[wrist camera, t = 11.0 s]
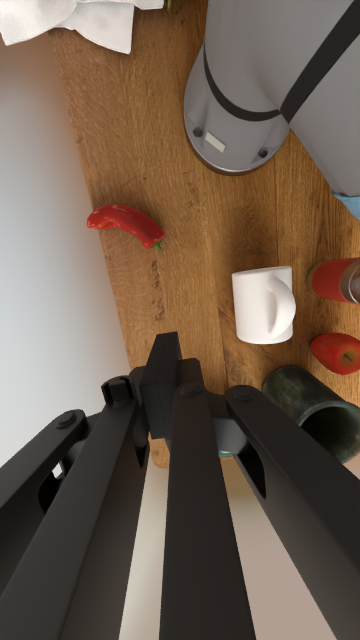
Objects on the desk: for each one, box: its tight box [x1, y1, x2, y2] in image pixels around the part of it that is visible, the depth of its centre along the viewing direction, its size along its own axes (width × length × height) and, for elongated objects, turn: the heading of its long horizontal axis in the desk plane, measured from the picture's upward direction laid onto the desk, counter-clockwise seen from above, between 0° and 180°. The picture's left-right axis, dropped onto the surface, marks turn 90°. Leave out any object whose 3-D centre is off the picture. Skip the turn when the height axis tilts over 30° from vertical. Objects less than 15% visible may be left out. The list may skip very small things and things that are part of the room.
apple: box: [311, 333, 360, 375], centre depth 34 cm, size 6×6×8 cm
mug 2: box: [262, 366, 360, 464], centre depth 34 cm, size 11×15×12 cm
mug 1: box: [232, 266, 296, 344], centre depth 30 cm, size 8×10×12 cm
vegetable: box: [87, 205, 165, 251], centre depth 30 cm, size 4×5×12 cm
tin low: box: [306, 257, 360, 304], centre depth 30 cm, size 6×6×9 cm
